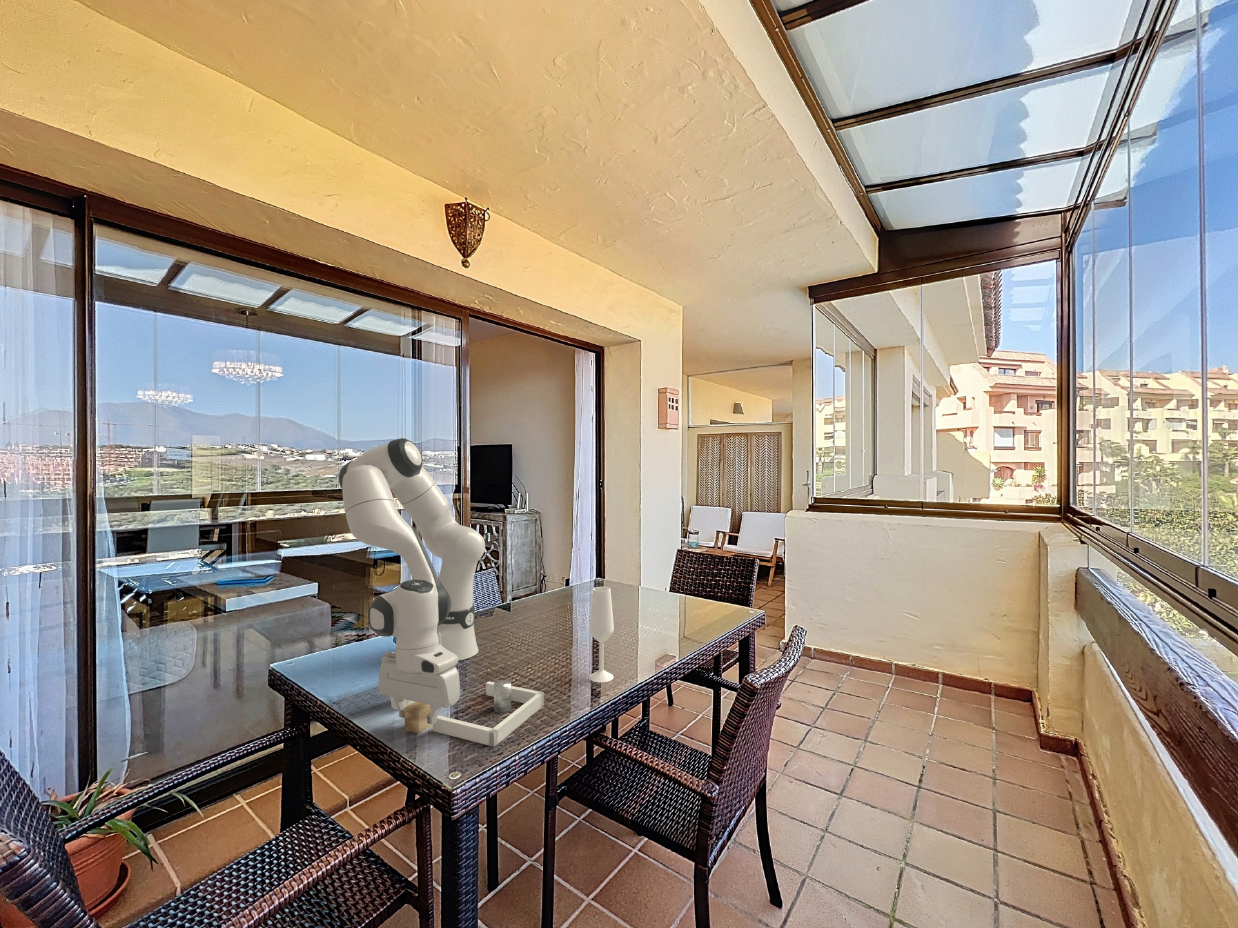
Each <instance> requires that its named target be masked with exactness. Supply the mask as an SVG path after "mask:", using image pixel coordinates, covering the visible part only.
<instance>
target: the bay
mask: <svg viewBox="0 0 1238 928" xmlns="http://www.w3.org/2000/svg"><path fill="white" fill-rule="evenodd" d="M495 682H496V681H495ZM495 682H493V681H487V682H486V683H485V695H486V696H489V697H493V698H494V683H495ZM511 702H517V703H520V704H522V705H520V707H518V708H517V709H516V710H515V711H513V712H512V713H511V714H510V715H507V717H505V718H504V719H503V720H502V721H500V722H499V723H497V725H495V726H494V727H493V728H492V727H489V726H483V725H479V724H475V723H471V722H468V721H464V720H459V719H455V718H451V717H447V716H443V715H440V714H438V721H437V723H435V724H434V725H432V732H436V733H439V734H443V735H447V736H451V737H455V738H458V739H462V740H467V741H470V742H474V743H478V744H482V745H485V746H489V747H496V746H497V745H498V744H499V743H501V742H502V741H503V740H504V739H506V738H507V737H508V736H509V735H510V734H512V733H513V732H514V731H515V730H516V729H517V728H518V727H519V726H521V725H522V724H524V723H525V722H526V721H527V720H528V719H529V718H531V717H532V716H533V715H534V714H535V713H536V712H538V711H539V710H540V709H541V708H542V707H544V706H545V692H544V691H537V690H534V689H529V688H524V687H518V686H513V685H511Z"/></svg>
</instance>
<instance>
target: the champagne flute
mask: <svg viewBox="0 0 1238 928" xmlns="http://www.w3.org/2000/svg"><path fill="white" fill-rule="evenodd" d="M590 607H591V608H590V615H589V626H588V631H589V633H590V635H591V636H592V637H593V638H594V639H595V640H596V641H597V642H598V643H599V644H598V645H599V647H598V649H599V653H598V654H599V655H598V660H599V662H598V664H599V665H598V670H596V671H595V672H593V673H591V674H590V675H589V676H588V679H589V680H590V681H592V682H595V683H608V682H610V681H612V680H613V679H614V675H613V674H612V673H610V672H608V671H607V670H605V669H604V662H605V661H604V659H605V657H604V649H605V648H604V646H605V645H604V643H605V642H606V641H607V640H608V639H609V638H610V637H611V636H612V635H613V633H614V630H615V628H614V616H613V615H614V614H613V603H612V593H611V588H610V587H607V586H597V587H596V586H595V587H593V588H592V596H591V606H590Z"/></svg>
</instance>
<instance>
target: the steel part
mask: <svg viewBox="0 0 1238 928" xmlns="http://www.w3.org/2000/svg"><path fill="white" fill-rule="evenodd" d="M511 686H512V681H510V680H508V679H499V680H497V681H495V683H494V697H493V711H494V712H495V713H498V714H499V713H501V714H502V713H507V712H509V711H511V709H512V701H511Z"/></svg>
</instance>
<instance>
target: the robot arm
mask: <svg viewBox="0 0 1238 928" xmlns="http://www.w3.org/2000/svg"><path fill="white" fill-rule="evenodd" d="M423 463H424V461H423V455H422V453H421V450H420V449H419V447H418V446H417V445H416V443H414V442H413V441H412V440H410V439H407V438H403V437H402V438H396V439H392V440H390V441H389V442H387V443H384V444H382V445H378V446H376V447H374V448H372V449H369V450H368V451H367V452H365V453H364V454H362V455H360V456H358V457H356V458H355V459H354V460H351V461H348V462H347V463H345V464H344V465H343V466H342V467H341V468H340V470H339V473H338V483H339V486H340V488H341V491H342V502H343V509H344V513H345V519H346V521H347V525H348V528H349V531H350V534H351V535H352V536H353V537H354V538H355V539H356V540H358V541H359V542H361V543H363V544H364V545H368V546H371V547H375V548H381V549H385V550H388V551H391V552H393V553H396V554H398V555H399V556H400V557H401V558H402V559H403V560H404V562H405V563H406V566H407V568H408V570H409V573H410V575H411V577H412V579H410V580H405V581H403V582H401V583H400V584H399V585H397V588H396V589H393V590H391V591H389V592H385V593H382V594H380V595H378V596H376V597H375V598H374V600H373V601H372V602H371V604H370V606H369V609H368V617H367V618H368V625H369V627H370V629H371V631H373V632H374V633H375V634H377V635H378V636H380V637H384V638H385V637H395V639H396V640H395V641H396V642H395V652H393V651H387V652H385V653H384V654H383V655H382V657H381V661H380V662H381V663H380V664H381V665H380V668H379V672H378V674H379V675H378V685H377V690H378V691H379V693H380V695H382V696H386V697H390V696H391V697H394V702H395V704H396V706H397V708H398V710H397V711H398V717H399V718H401V719H405V707H406V706H407V705H406V702H405V700H410V701H415V702H419V703H424V704H429V705H430V709H432V712H431V714H430V715H428V716H427V723H428V724H432V725H431V726H433V725H434V724H435V723H437V721H438V715H439V713H440V712H441V709H442V708H444V709H448V708H450V707H452V706H454V705H455V704H456V703H457V702H458V701H459V699H460V696H461V687H460V686H461V683H460V674H459V671H458V669H457V667H456V666H457V665H458V663H459V661H463V660H466V659H469V658H472V657H474V656H475V655H477V654H478V653H479V651H480V650H479V647H478V644H477V639H476V633H475V626H474V625H475V624H474V622H475V621H474V620H475V605H474V579H475V578H474V577H475V573H476V571H477V570H476V569H477V566H478V565H477V564H478V563H479V561H480V559H481V558H482V556H483V555H484V553H485V550H486V542H485V539H484V537H483V536H482V535H481V534H480V533H479V532H478V531H476V530H475V529H474V528H472V527H469V526H465V525H461V524H459V523H458V522H457V521H456V519H455V518H454V516H453V514H452V512H451V508H450V502H449V500H448V499H447V497H446V496H445V495H444V493H443V492H442V490H441V489H440V487H439V486H438V485H437V483H436V482H435V480H434V479H433V477H432V475H430V474H429V472H428V471H427V470H426V469H425V468H424V466H423ZM392 493H393V494H394V496H395V498H396V499H397V501H398V502H399V504H400V505H401V506H402V507H403V509H404V510H405V511H406V513H407V514H408V516H409V517H410V518H411V520H412V521H413V523H414V524H415V525H416V528H417V529H418V531H417V530H416V528H415V527H414V526H413V525H411V524H409V523H407V521H406V520H405V519H404V518H403V517H402V515H401V514H400V513H399V511H398V509H397V506H396V503H395V499H394V496H393V494H392ZM418 532H419V533H418ZM419 534H420V535H419ZM421 538H422V539H421ZM422 540H423V541H424V543H423V541H422ZM424 544H425V545H424ZM425 546H426V547H425ZM426 548H427V549H426ZM427 550H428V551H429V552H430V553H431V554H433V556H435V557H437V558H439V559H441V567H440V569H439V574H438V573H437V571H436V570H435V567H434V565H433V563H432V561H431V559H430V556H429V554H428V552H427ZM391 697H390V698H391Z"/></svg>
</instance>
